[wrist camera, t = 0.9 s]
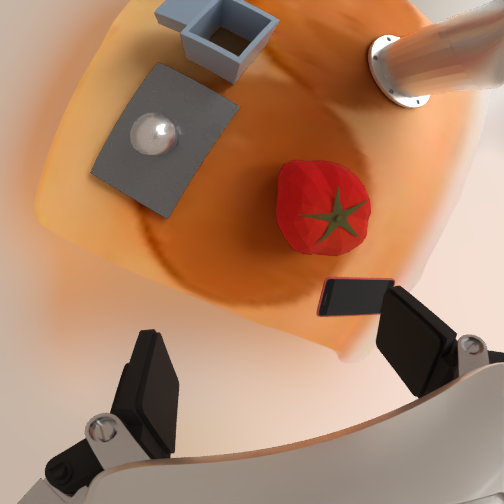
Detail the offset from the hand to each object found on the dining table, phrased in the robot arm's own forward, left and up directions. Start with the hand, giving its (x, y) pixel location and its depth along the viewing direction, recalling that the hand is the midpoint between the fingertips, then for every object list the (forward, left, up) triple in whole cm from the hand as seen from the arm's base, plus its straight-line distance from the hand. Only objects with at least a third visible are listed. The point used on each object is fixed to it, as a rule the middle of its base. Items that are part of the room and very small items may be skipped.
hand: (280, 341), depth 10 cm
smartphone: (+1, +24, -26) cm, 36 cm away
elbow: (-17, -15, -25) cm, 34 cm away
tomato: (-6, +7, -26) cm, 28 cm away
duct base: (-3, -13, -26) cm, 29 cm away
